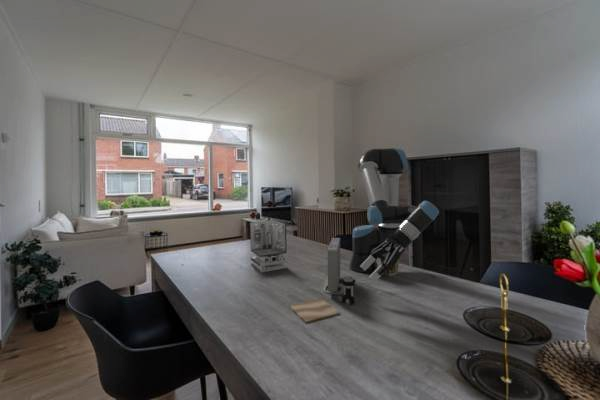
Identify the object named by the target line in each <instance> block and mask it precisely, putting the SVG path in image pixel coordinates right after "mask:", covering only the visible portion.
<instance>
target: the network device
mask: <svg viewBox="0 0 600 400" xmlns="http://www.w3.org/2000/svg"><path fill="white" fill-rule="evenodd" d="M342 279H344V277H343V278H342V277H341V238H340V237H332V238H331V241H330V243H329V244H328V248H327V278H326V279H325V282H324V285H323V287H322V292H323V293H325V294H327V295H341V294H343V293H344V285H343V284H342V282H341V283H339V282H340V281H342ZM338 288H340V291H338V290H339V289H338Z"/></svg>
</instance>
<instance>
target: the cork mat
mask: <svg viewBox="0 0 600 400" xmlns="http://www.w3.org/2000/svg"><path fill="white" fill-rule="evenodd" d="M288 307H289V308H290V309H291V310H292V311H293V312H294V314H295V315H296V316H298V317H299V318H300V319H301V320H302V322H304V323H305V324H307V323H311V322H316V321H318V320H323V319H326V318H330V317H334V316H339V315H340V314H341V312H340V311H338V309H336V308H334V307H333V306H332V305H331V304H329V303H328V302H326V301H325V300H324V299H323V298H321V297H320V298H319V297H318V298H316V299H311V300H305V301H301V302H298V303H293V304H289V305H288Z"/></svg>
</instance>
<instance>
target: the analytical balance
mask: <svg viewBox="0 0 600 400" xmlns="http://www.w3.org/2000/svg"><path fill="white" fill-rule="evenodd" d="M249 232H250V234H249V235H250V237H249V238H250V240H249V241H250V252H252V253H253V254H254V256H250V261H251V263H250V266H252V267H253V268H254V270H255V269H256V271H258V272H259V273H268V272H271V271H278V270H283V269H288V268H287V267H288V265H287V264H286V263H288V259H287V258H286V256H285V254H287V251H288V250H287V247H288V246H287V223H284V222H281V221H278V220H264V221H255V222H252V221H251V222H249Z"/></svg>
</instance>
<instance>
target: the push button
mask: <svg viewBox="0 0 600 400" xmlns="http://www.w3.org/2000/svg"><path fill="white" fill-rule="evenodd" d="M353 277H354V276H353ZM353 277H352V276H351V275H349V276H344V277H343V279H342V280H341V283H342V284H343V285H344V290H343V293H342V294H343V295H342V296H338V300H339V301H341V302H342V303H344V304H347V305H348V304H350V305H352V306H354V304H355V303H356V296H355V295H354V286H355V285H356V279H354V278H353Z"/></svg>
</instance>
